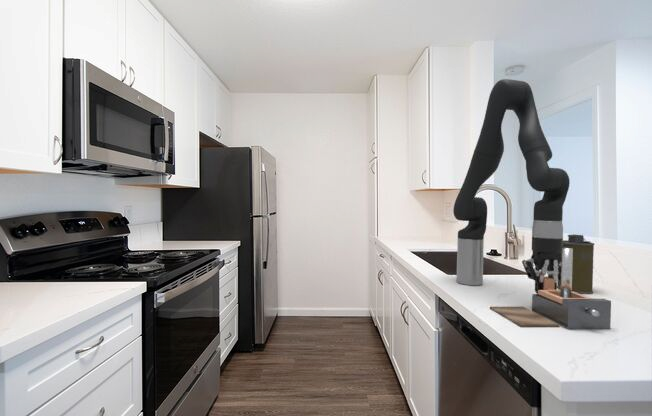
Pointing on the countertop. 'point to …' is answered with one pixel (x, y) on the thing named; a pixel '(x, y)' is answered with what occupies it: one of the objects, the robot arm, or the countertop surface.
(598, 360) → the countertop surface
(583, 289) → the canister
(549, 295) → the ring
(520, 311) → the board
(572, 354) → the countertop surface
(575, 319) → the block
